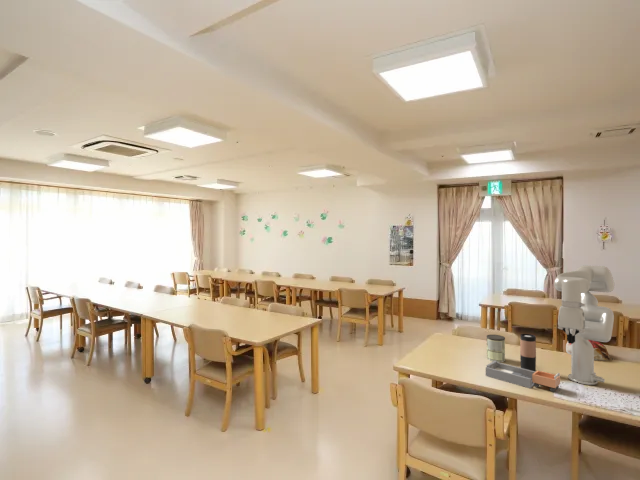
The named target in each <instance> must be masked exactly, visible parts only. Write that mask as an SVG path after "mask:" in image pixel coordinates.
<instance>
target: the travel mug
mask: <svg viewBox="0 0 640 480" xmlns="http://www.w3.org/2000/svg"><path fill="white" fill-rule="evenodd" d="M519 346H520V353H519V354H520V356H519V357H520V358H519V359H520V368H523V369H527V370H531V371H535V372H536V371H537V369H536V367H537V364H536V363H537V337H536V335H534V334H531V333H521V334H520V345H519Z"/></svg>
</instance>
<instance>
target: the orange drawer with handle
mask: <svg viewBox="0 0 640 480" xmlns="http://www.w3.org/2000/svg"><path fill="white" fill-rule="evenodd" d="M532 382H534V386H533V387H535V388H539V387H540V385H541V386H545V387H549V391H550V392H552V393H554V392H556V389H559V385H560V384H561V376H560V372H557V373H556V374H554V373H550V372H546V371H542V370H537V369H536V371H535V373H533V374H532Z"/></svg>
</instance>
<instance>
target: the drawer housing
mask: <svg viewBox="0 0 640 480" xmlns="http://www.w3.org/2000/svg"><path fill="white" fill-rule="evenodd" d="M535 372H536V371H531V370H527V369H523V368H521V367H520V366H515V365H510V364H506V363H504V362H497V361H491V362H490V363H488V364H486V367H485V376H486V377H489V378H492V379H496V380H500V381H502V382H507V383H511V384H513V385H517V386H520V387H525V388H528V389H532V388H533V387H535V386H534V382H532V374H533V373H535Z"/></svg>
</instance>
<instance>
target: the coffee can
mask: <svg viewBox="0 0 640 480" xmlns="http://www.w3.org/2000/svg"><path fill="white" fill-rule="evenodd" d="M486 360H489V361H491V362H493V361H497V362H499V363H504V362H505V361H506V337H505V336H503V335H500V334H487V335H486Z"/></svg>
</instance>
